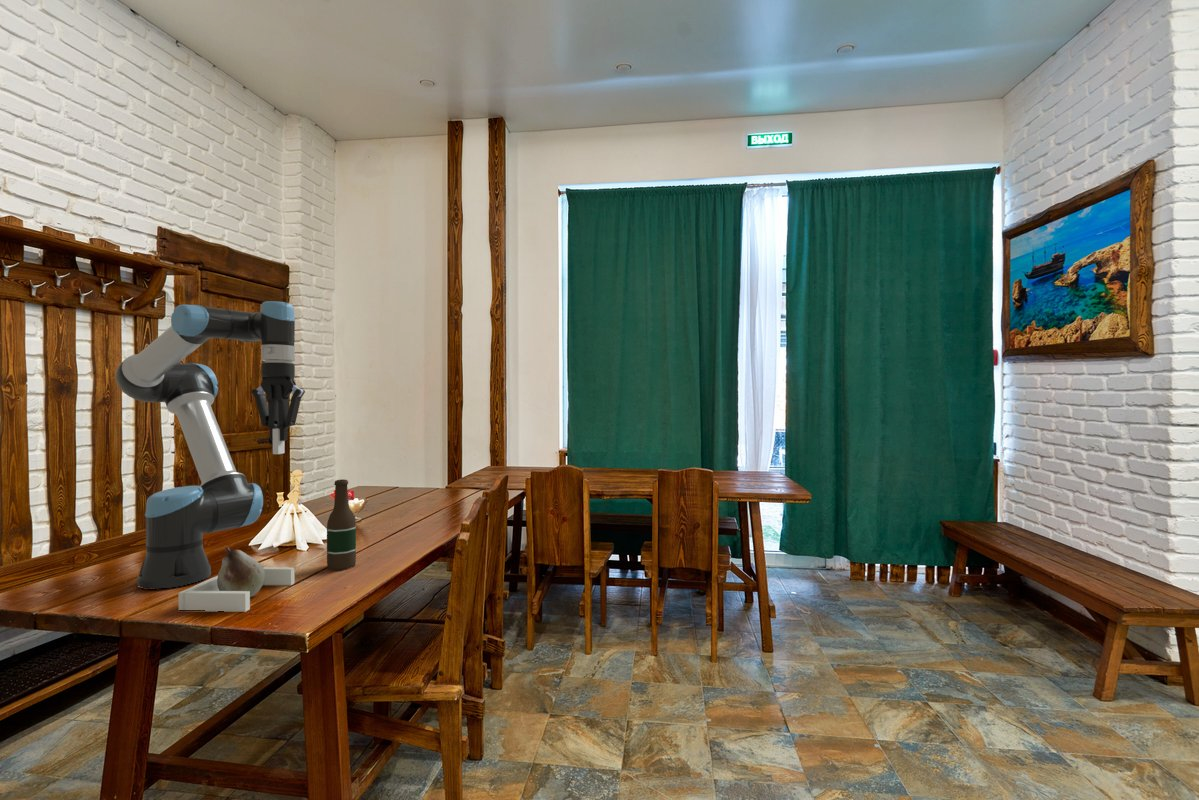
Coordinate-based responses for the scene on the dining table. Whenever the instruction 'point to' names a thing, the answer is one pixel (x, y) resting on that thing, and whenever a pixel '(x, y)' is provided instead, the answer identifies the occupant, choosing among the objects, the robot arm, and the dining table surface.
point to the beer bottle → (341, 531)
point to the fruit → (240, 573)
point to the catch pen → (229, 593)
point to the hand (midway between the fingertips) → (278, 453)
